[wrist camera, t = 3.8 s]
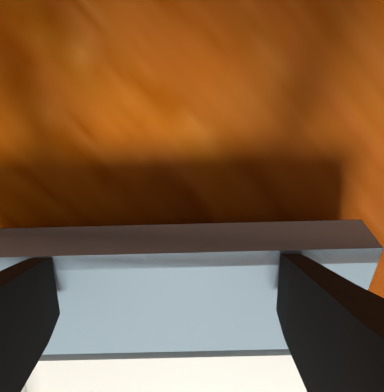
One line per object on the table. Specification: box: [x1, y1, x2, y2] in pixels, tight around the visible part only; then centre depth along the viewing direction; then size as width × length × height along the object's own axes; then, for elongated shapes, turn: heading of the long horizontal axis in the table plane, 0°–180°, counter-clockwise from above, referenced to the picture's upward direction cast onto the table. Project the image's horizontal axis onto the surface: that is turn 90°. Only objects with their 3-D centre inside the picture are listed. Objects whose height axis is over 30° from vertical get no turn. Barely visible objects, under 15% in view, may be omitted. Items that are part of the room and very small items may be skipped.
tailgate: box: [0, 220, 383, 355], centre depth 12 cm, size 2×13×5 cm
